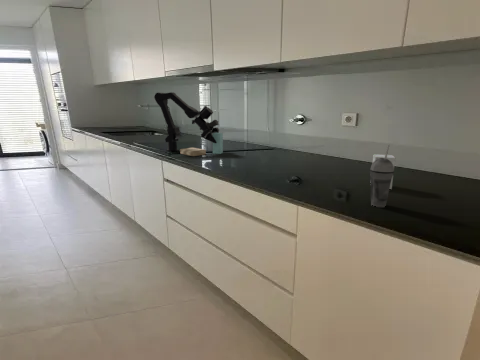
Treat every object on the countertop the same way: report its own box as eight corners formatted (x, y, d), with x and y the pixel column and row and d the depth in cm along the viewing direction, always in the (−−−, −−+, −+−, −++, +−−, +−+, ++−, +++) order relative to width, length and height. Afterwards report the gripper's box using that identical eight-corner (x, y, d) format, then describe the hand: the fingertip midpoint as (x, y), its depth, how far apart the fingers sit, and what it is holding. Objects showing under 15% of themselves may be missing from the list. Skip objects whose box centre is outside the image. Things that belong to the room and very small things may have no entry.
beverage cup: (365, 201, 113) (371, 142, 108) (388, 203, 111) (395, 143, 106) (367, 207, 106) (373, 145, 102) (391, 209, 104) (399, 146, 100)
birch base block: (180, 153, 214) (180, 148, 213) (193, 151, 220) (192, 147, 220) (192, 156, 204) (192, 151, 203) (205, 154, 210) (205, 149, 210)
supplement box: (371, 188, 129) (374, 156, 126) (370, 184, 136) (373, 153, 133) (392, 190, 127) (395, 157, 124) (389, 185, 134) (393, 154, 131)
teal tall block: (212, 153, 214) (212, 133, 211) (215, 152, 219) (215, 132, 216) (220, 153, 213) (219, 133, 210) (222, 152, 217) (222, 132, 214)
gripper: (204, 116, 203) (222, 134, 202) (216, 115, 220) (232, 132, 219) (193, 128, 207) (210, 147, 206) (205, 126, 224) (221, 143, 223)
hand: (219, 142), depth 214 cm, fingers open, 9 cm apart
